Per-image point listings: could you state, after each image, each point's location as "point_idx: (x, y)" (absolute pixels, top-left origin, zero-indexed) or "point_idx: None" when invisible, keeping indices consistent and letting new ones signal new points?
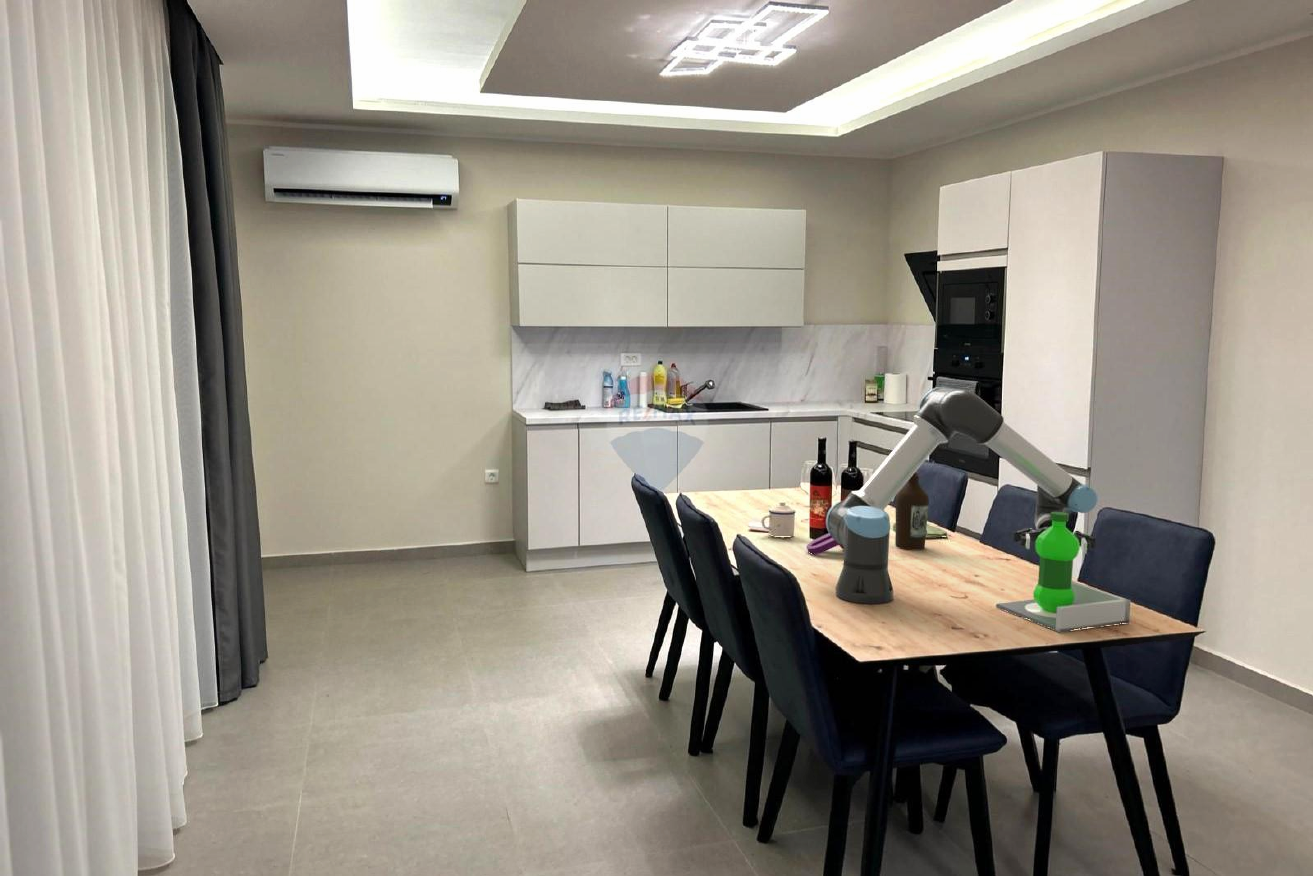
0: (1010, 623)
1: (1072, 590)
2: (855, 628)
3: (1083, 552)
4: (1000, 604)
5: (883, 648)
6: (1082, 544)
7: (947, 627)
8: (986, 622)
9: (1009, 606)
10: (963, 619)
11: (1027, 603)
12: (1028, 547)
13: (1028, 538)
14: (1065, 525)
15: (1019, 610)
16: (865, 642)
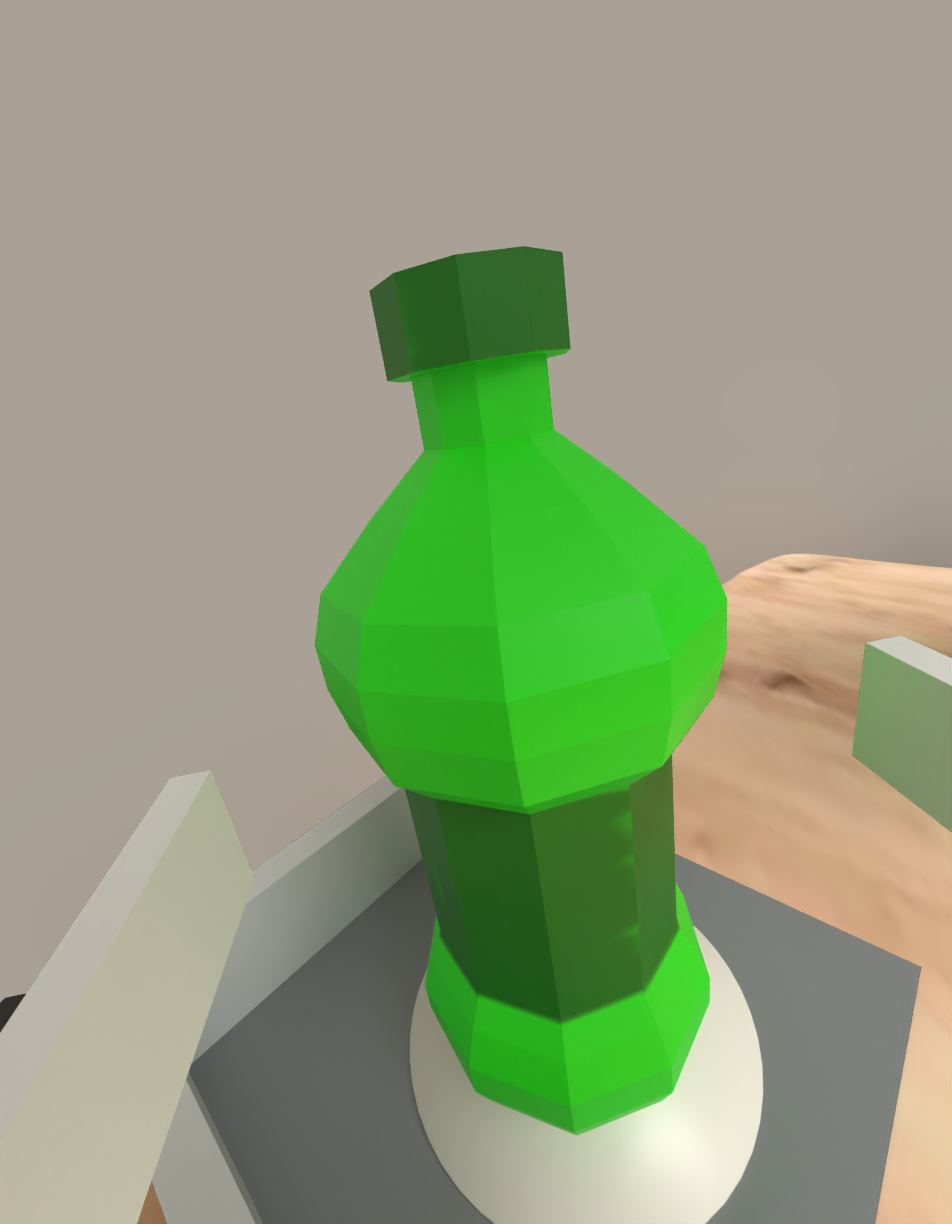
0: (683, 787)
1: (436, 925)
2: (948, 591)
3: (248, 869)
4: (891, 965)
5: (787, 571)
6: (149, 990)
7: (807, 675)
8: (757, 756)
9: (818, 951)
10: (842, 744)
11: (787, 1119)
12: (866, 738)
13: (895, 643)
14: (422, 432)
15: (726, 906)
16: (840, 570)
